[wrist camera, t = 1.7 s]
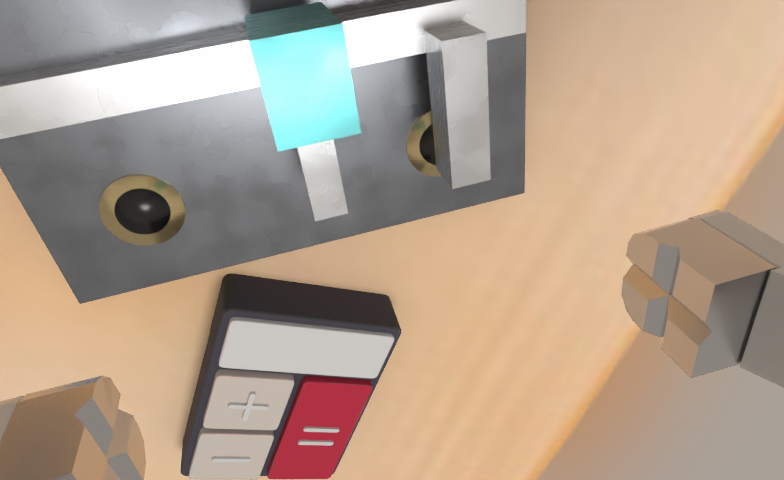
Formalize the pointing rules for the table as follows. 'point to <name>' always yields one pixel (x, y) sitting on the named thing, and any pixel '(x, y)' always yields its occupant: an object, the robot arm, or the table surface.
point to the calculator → (285, 378)
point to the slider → (307, 93)
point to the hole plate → (243, 129)
